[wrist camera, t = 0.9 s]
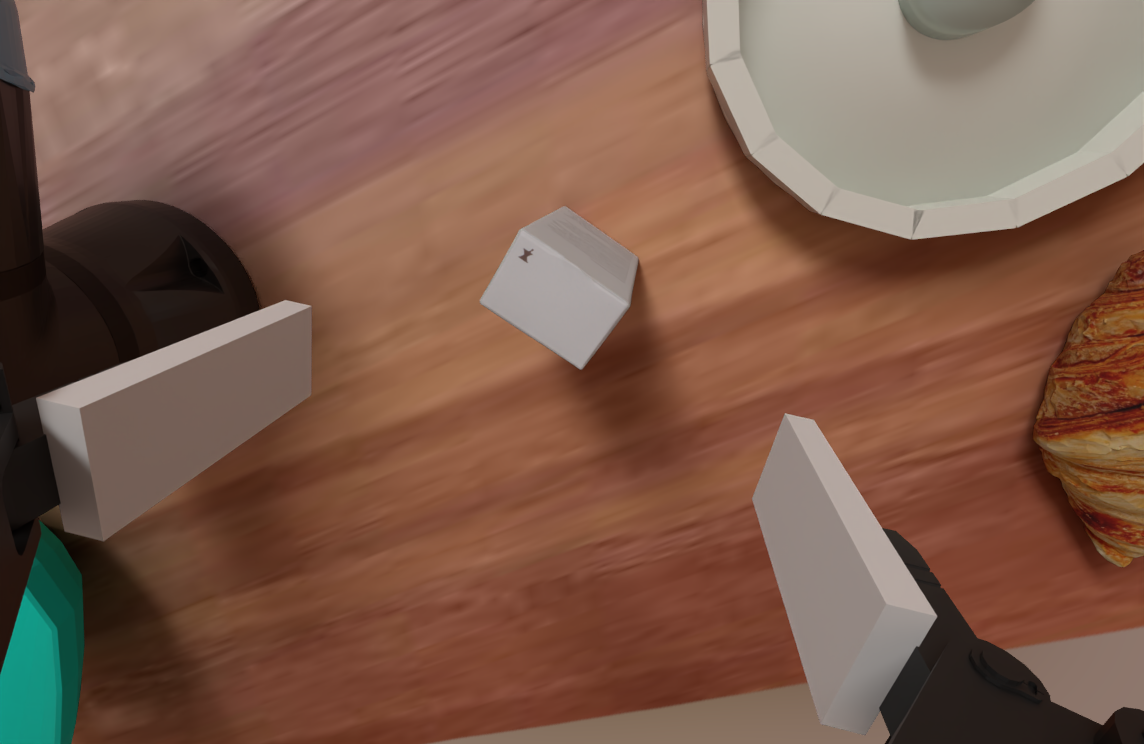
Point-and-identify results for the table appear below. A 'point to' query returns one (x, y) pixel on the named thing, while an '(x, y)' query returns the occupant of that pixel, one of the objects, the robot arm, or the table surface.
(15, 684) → the table top decor
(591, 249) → the skincare box
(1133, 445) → the croissant
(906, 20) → the ring tray
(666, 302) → the table surface
